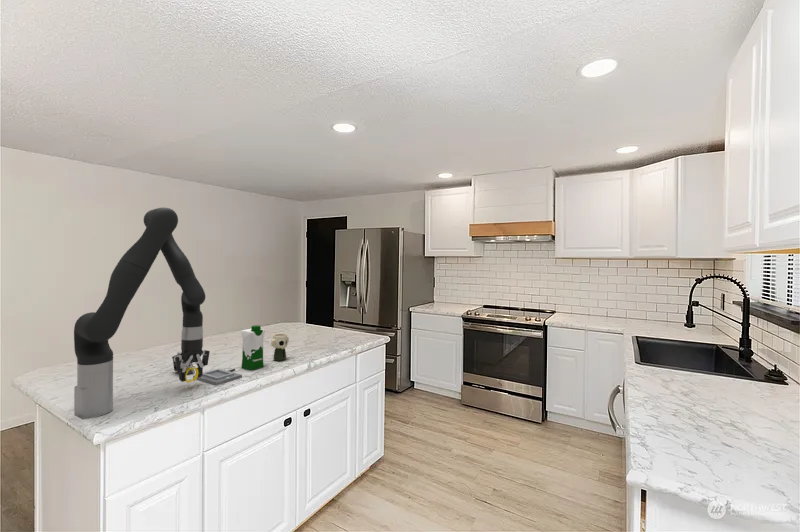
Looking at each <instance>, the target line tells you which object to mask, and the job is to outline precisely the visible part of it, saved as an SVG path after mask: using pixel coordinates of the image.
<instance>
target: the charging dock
mask: <svg viewBox="0 0 800 532" xmlns="http://www.w3.org/2000/svg"><path fill="white" fill-rule="evenodd" d="M235 370H236V368H232V369H229V370H226V369H222V368H216V369H212V370H209V371H208V370H207V371H205V372H203V374H202V376H201V377H197V379H196V381H200V382H203V383H207V384H210V385H214V386H219V385H222V384H223V385H224V384H225V383H229V382H233V381H235V380H238V379H242V378H243V374H241V373H237V372H235ZM194 377H195V374H194V375H192V379H193V378H194Z"/></svg>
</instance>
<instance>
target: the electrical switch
mask: <svg viewBox="0 0 800 532" xmlns="http://www.w3.org/2000/svg"><path fill="white" fill-rule="evenodd" d="M181 352H182V351H177V352H176V355H174V356H179V355H180V354H181ZM171 358H172V360H173V356H172V357H171ZM182 360H183V359H182V358H181V361H180V366H181V362H182ZM185 364H186V363H185ZM189 366H194V364H193V363H190V364H189ZM189 366H188V367H189ZM188 367H187V368H188ZM187 368H186V369H187ZM177 373H179V372H177ZM190 374H196V371H195V369H190V370H189V371H188V373H187V375H190Z"/></svg>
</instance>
